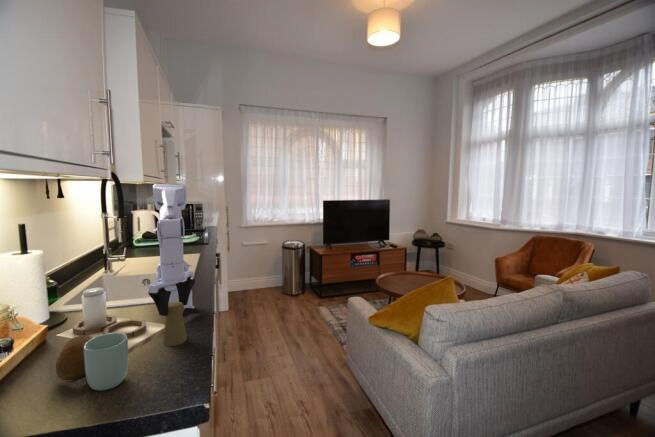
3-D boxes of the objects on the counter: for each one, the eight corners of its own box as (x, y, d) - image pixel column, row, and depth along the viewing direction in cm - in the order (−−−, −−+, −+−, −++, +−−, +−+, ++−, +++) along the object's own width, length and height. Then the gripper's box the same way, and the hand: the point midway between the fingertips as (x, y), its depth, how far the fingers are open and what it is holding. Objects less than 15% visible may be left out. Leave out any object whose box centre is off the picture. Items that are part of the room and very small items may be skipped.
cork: (177, 347, 83) (175, 308, 82) (157, 344, 84) (156, 306, 83) (191, 336, 89) (190, 300, 88) (173, 334, 90) (171, 298, 89)
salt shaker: (97, 321, 94) (95, 286, 93) (112, 324, 93) (110, 288, 92) (78, 329, 89) (76, 292, 88) (93, 332, 87) (91, 294, 86)
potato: (112, 355, 79) (110, 322, 78) (95, 383, 68) (92, 345, 67) (71, 361, 76) (69, 327, 75) (47, 391, 65) (44, 352, 64)
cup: (80, 400, 62) (77, 353, 61) (92, 378, 69) (89, 336, 68) (126, 390, 65) (123, 346, 64) (132, 370, 72) (130, 330, 71)
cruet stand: (103, 319, 99) (103, 310, 99) (168, 329, 93) (168, 320, 93) (56, 340, 86) (55, 330, 85) (128, 353, 79) (128, 342, 79)
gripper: (164, 269, 76) (166, 322, 78) (201, 257, 90) (202, 302, 92) (141, 267, 78) (143, 319, 79) (181, 255, 92) (182, 299, 93)
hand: (173, 309), depth 86 cm, fingers open, 7 cm apart
